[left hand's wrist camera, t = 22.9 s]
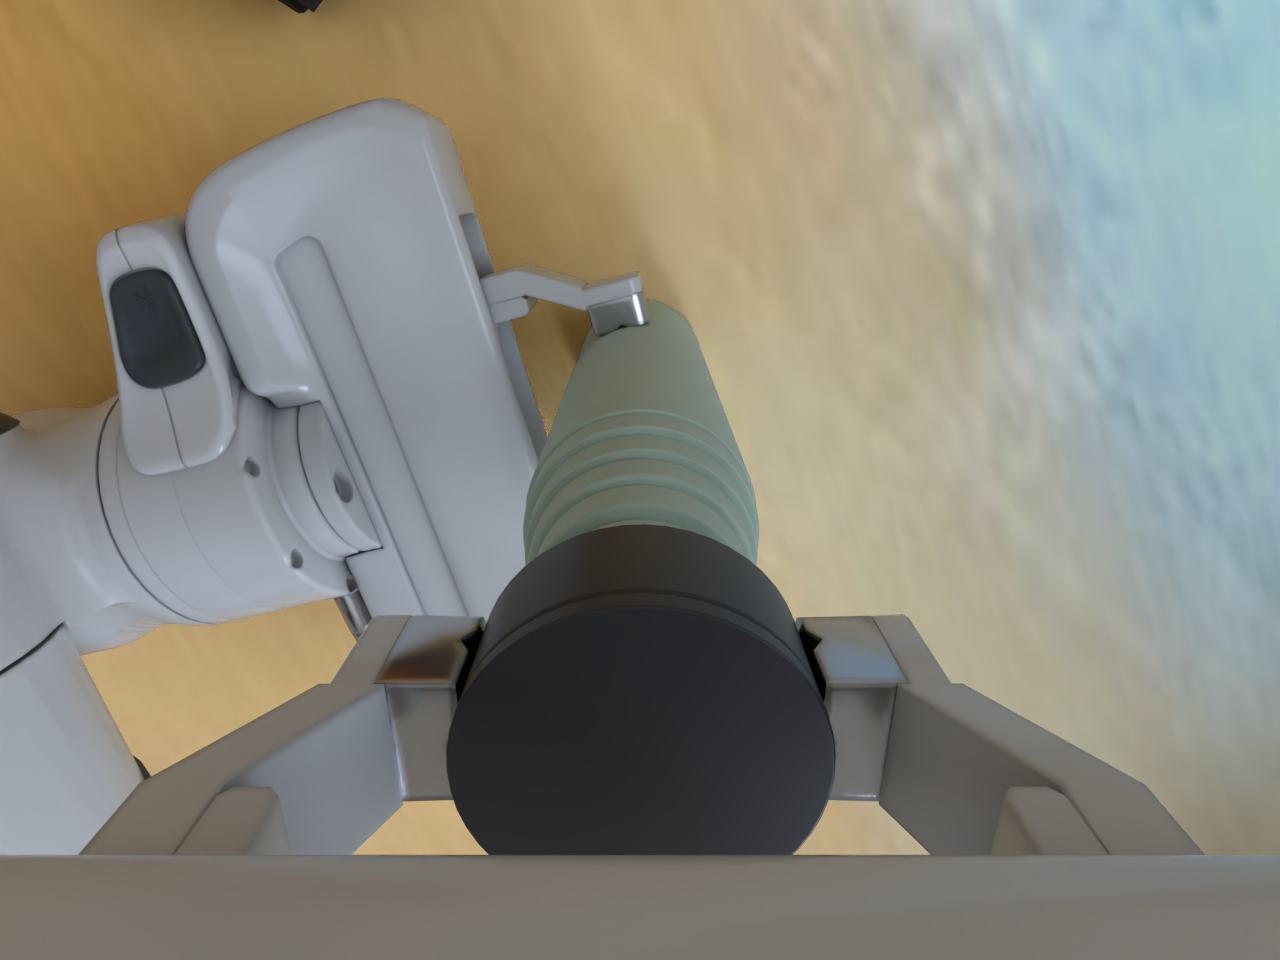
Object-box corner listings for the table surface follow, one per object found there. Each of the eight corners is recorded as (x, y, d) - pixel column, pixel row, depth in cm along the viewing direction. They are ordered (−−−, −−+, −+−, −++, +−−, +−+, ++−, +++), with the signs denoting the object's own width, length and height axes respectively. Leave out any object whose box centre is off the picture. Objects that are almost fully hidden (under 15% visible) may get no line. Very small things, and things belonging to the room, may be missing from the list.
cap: (857, 693, 10) (907, 807, 8) (609, 831, 11) (603, 962, 9) (680, 456, 9) (689, 528, 7) (415, 636, 10) (362, 741, 8)
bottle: (566, 319, 29) (383, 629, 8) (681, 283, 28) (788, 521, 8) (603, 428, 30) (525, 912, 10) (712, 396, 30) (867, 837, 9)
